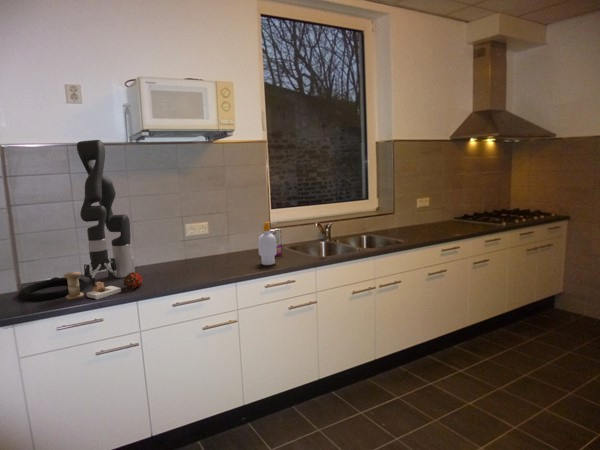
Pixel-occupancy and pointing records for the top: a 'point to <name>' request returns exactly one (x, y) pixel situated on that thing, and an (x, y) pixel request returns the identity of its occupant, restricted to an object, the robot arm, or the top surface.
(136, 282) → the dragon fruit
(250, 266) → the top surface
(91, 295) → the notch board
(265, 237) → the soap bottle
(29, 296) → the cable lock
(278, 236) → the candy bar box
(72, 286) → the bobbin
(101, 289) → the brown wooden block
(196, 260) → the top surface
